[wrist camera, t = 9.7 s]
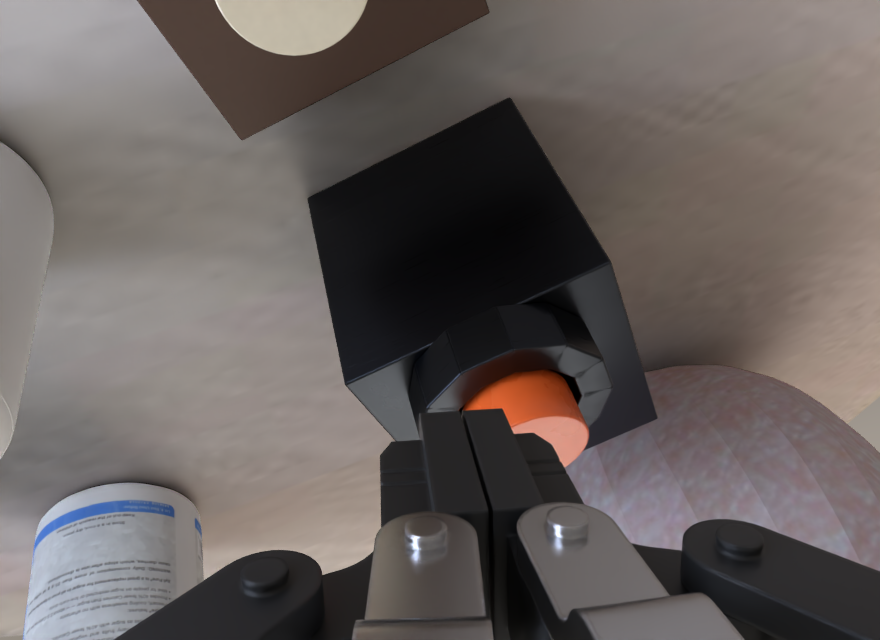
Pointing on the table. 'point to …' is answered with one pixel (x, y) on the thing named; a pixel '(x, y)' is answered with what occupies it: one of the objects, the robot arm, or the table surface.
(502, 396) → the orange push button
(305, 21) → the dial
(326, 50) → the plate
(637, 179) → the table surface
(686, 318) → the table surface
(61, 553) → the supplement tub
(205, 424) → the table surface
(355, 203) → the button housing
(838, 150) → the table surface
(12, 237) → the pill bottle
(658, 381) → the plant pot
